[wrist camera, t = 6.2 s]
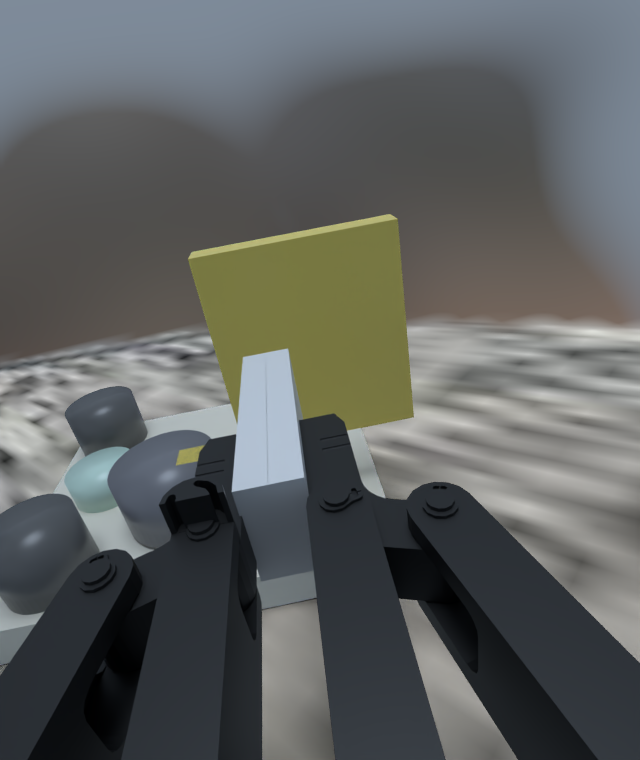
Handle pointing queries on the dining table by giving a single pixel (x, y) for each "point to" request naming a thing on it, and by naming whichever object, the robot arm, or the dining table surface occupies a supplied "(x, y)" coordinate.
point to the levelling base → (107, 510)
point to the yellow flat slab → (289, 343)
